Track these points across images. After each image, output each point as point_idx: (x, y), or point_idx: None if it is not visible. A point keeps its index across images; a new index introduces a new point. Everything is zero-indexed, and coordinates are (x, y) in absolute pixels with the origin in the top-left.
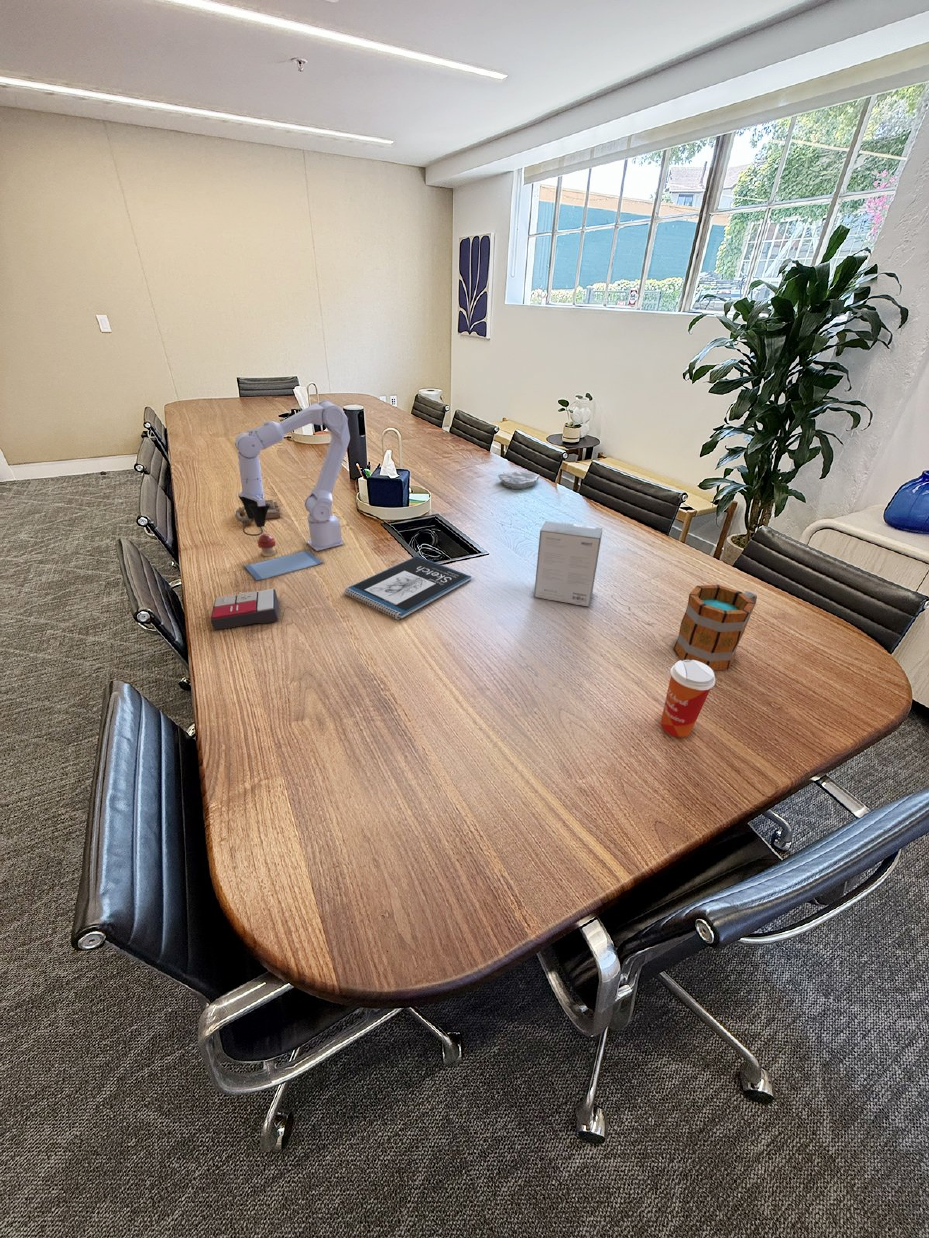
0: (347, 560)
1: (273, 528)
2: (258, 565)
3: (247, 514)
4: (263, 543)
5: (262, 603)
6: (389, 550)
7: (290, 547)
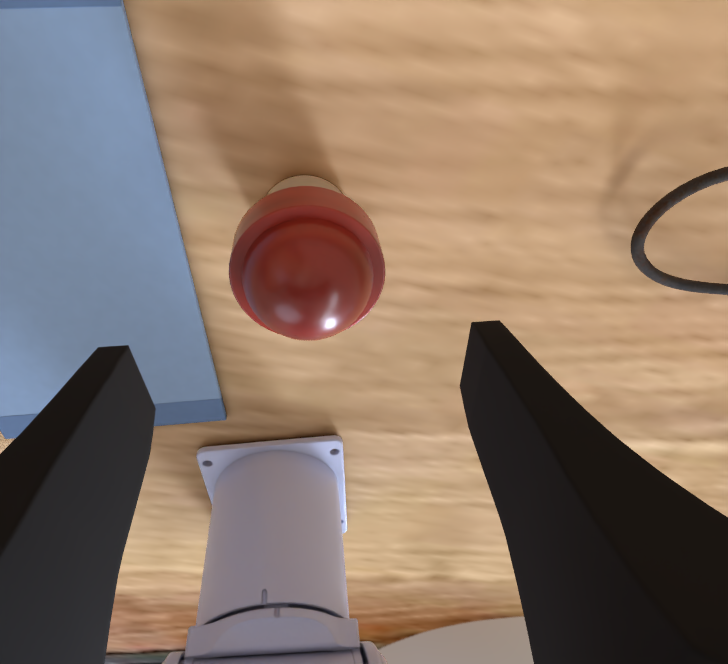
0: None
1: (686, 344)
2: (77, 78)
3: (497, 362)
4: (246, 244)
5: None
6: None
7: (336, 355)
